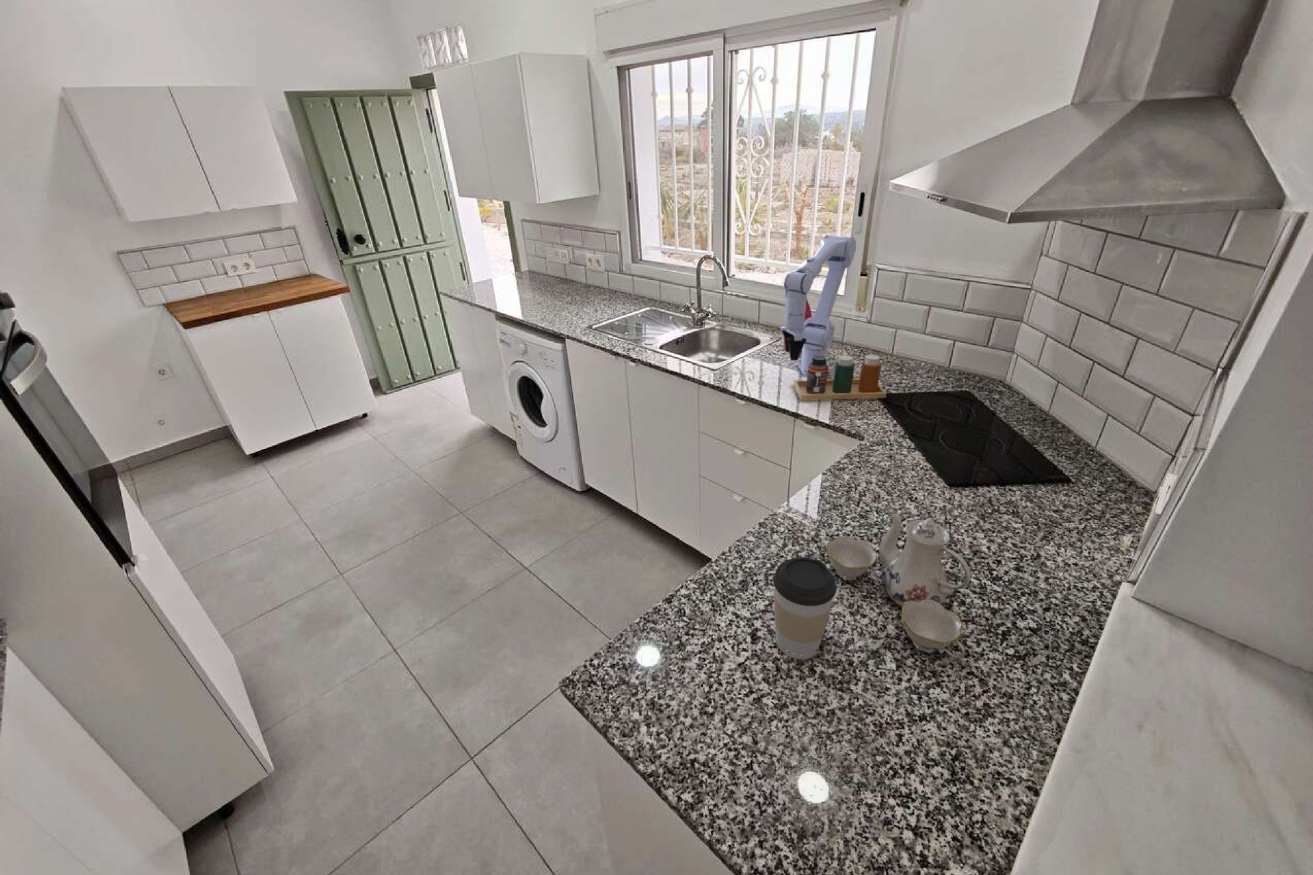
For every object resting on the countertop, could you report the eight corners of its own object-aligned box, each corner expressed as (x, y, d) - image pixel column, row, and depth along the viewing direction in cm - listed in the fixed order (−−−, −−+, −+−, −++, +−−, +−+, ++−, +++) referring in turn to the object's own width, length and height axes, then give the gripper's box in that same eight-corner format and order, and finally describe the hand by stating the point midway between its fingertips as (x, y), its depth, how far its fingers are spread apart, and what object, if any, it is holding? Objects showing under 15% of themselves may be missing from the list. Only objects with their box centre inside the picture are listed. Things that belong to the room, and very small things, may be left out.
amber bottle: (855, 387, 170) (860, 354, 165) (873, 386, 170) (879, 353, 165) (860, 394, 165) (866, 360, 160) (879, 393, 165) (885, 360, 160)
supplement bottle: (820, 397, 165) (824, 362, 159) (802, 392, 168) (805, 358, 163) (828, 390, 169) (832, 356, 163) (810, 386, 172) (813, 352, 167)
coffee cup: (790, 674, 81) (799, 601, 73) (757, 630, 88) (762, 560, 81) (839, 652, 84) (851, 580, 76) (803, 612, 91) (811, 543, 84)
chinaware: (806, 574, 101) (807, 505, 92) (869, 536, 107) (876, 468, 98) (940, 687, 79) (958, 611, 71) (1010, 632, 85) (1035, 556, 77)
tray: (793, 386, 174) (793, 380, 173) (873, 384, 173) (874, 378, 172) (800, 401, 164) (800, 395, 163) (885, 399, 163) (886, 393, 162)
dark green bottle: (830, 387, 171) (834, 354, 165) (848, 387, 170) (852, 354, 165) (834, 394, 166) (838, 361, 160) (853, 394, 165) (857, 360, 160)
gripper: (778, 307, 169) (775, 348, 176) (786, 320, 157) (783, 364, 163) (800, 306, 169) (797, 347, 176) (810, 319, 156) (806, 363, 163)
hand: (791, 355), depth 169 cm, fingers open, 7 cm apart
